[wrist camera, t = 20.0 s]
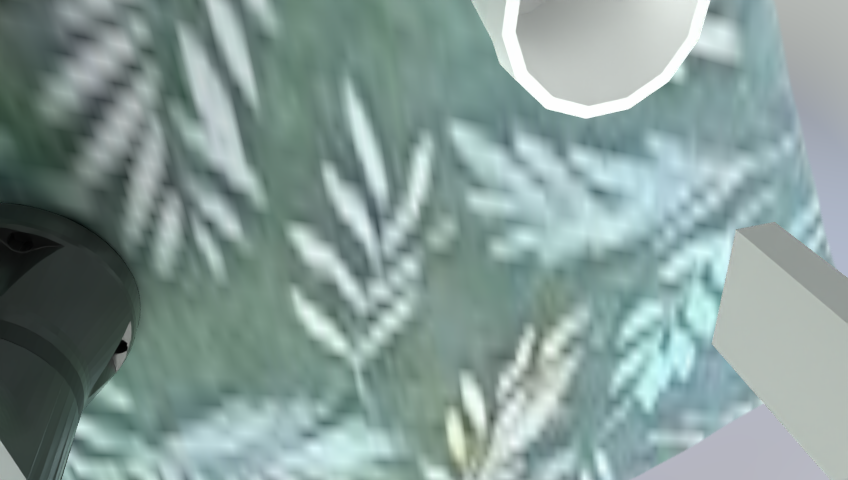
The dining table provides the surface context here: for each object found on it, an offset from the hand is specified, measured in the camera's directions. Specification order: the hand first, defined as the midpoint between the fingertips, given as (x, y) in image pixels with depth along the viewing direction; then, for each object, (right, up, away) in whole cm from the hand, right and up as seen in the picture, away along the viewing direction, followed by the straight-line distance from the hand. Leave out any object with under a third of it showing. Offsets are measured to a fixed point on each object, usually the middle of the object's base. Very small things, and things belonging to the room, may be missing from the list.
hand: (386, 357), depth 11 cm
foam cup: (+6, +19, +27) cm, 33 cm away
